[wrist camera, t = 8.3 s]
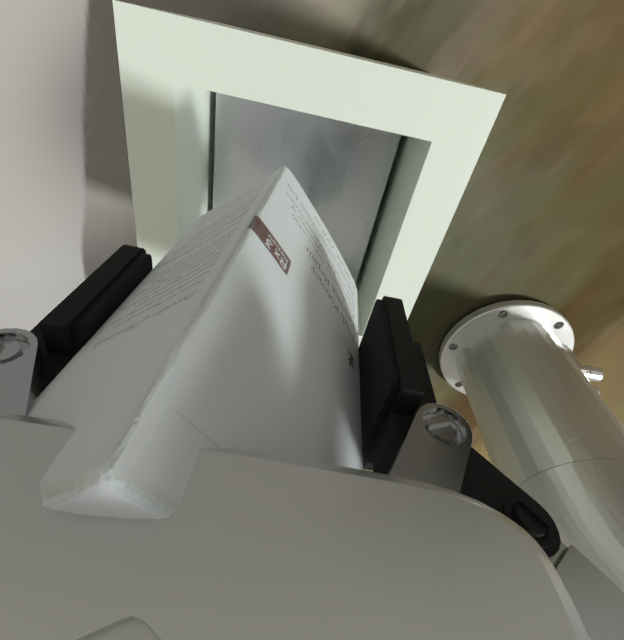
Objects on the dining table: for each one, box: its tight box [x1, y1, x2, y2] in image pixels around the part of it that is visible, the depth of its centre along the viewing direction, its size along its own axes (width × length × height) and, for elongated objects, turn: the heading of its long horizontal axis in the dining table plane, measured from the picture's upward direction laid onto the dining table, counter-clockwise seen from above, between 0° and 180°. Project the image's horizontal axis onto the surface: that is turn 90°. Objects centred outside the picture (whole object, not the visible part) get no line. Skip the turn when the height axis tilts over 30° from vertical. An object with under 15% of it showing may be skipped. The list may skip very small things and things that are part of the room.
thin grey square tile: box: [213, 92, 401, 283], centre depth 21 cm, size 9×9×1 cm
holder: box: [112, 0, 506, 345], centre depth 23 cm, size 14×14×14 cm
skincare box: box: [27, 166, 362, 519], centre depth 10 cm, size 6×4×12 cm
